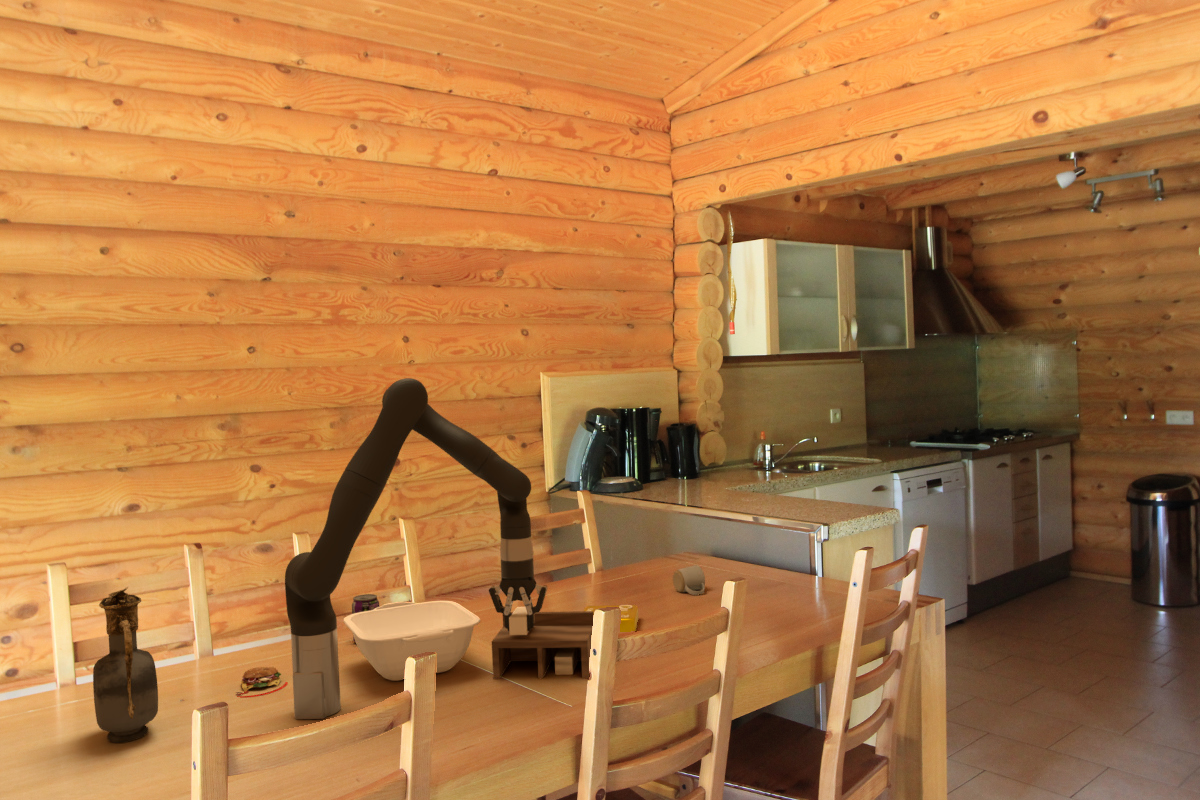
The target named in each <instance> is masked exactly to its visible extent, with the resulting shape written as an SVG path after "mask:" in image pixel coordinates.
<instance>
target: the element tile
mask: <svg viewBox="0 0 1200 800" xmlns="http://www.w3.org/2000/svg"><path fill="white" fill-rule="evenodd" d="M606 607H619V608H620V610H621V624H620V632H631V631H636V632H637V629H636V628H638V625H637V622H638V623H639V621H638V620H639V606H637V605H636V604H616V605H615V604H613V605H611V604H610V605H606V604H605V605H587V606H585V607H584V608H583V610H582V611H593V612H594V610H595V609H598V608H606Z"/></svg>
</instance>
